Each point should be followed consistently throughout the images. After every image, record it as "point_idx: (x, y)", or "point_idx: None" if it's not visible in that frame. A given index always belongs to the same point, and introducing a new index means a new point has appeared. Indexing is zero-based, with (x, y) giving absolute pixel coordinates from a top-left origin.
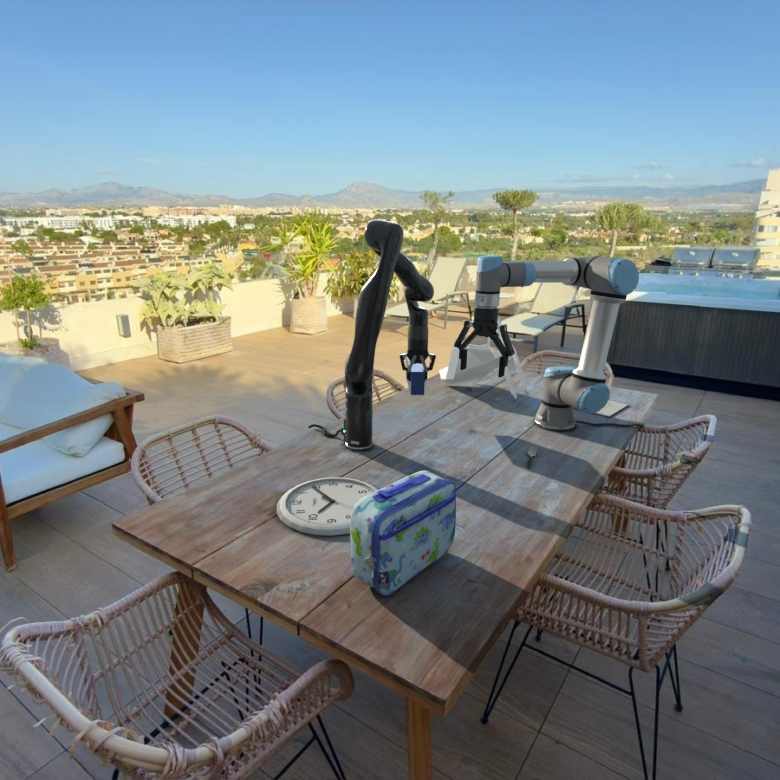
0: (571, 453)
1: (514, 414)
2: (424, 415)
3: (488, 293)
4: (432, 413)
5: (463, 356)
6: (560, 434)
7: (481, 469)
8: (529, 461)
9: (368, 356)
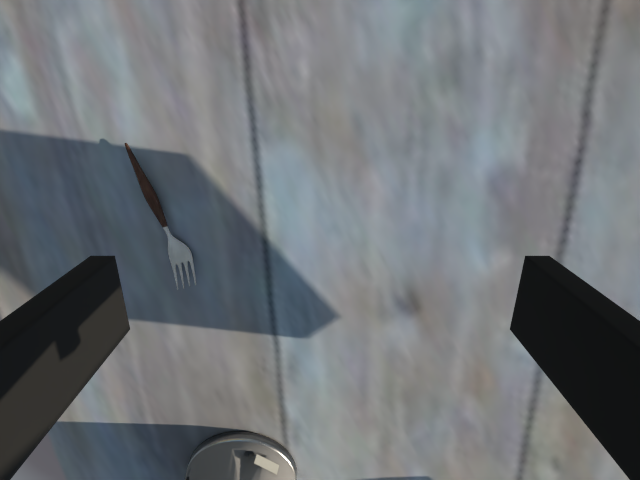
0: None
1: (362, 473)
2: None
3: None
4: None
5: (633, 356)
6: (197, 422)
7: (242, 48)
8: (148, 191)
9: None
